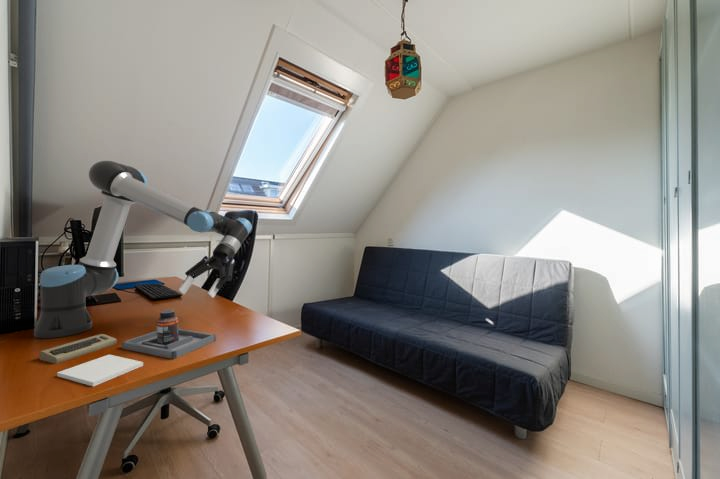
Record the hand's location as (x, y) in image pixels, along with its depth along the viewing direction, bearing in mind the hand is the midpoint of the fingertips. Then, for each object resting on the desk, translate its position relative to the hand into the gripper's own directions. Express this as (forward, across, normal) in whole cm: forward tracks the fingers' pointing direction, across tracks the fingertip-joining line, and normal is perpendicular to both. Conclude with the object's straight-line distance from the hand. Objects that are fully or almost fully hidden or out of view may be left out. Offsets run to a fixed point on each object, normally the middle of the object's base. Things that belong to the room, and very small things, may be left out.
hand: (195, 294), depth 108 cm
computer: (+28, +20, +6) cm, 35 cm away
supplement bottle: (+18, 0, -3) cm, 18 cm away
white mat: (+31, 0, +10) cm, 33 cm away
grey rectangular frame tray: (+17, 0, -4) cm, 18 cm away
